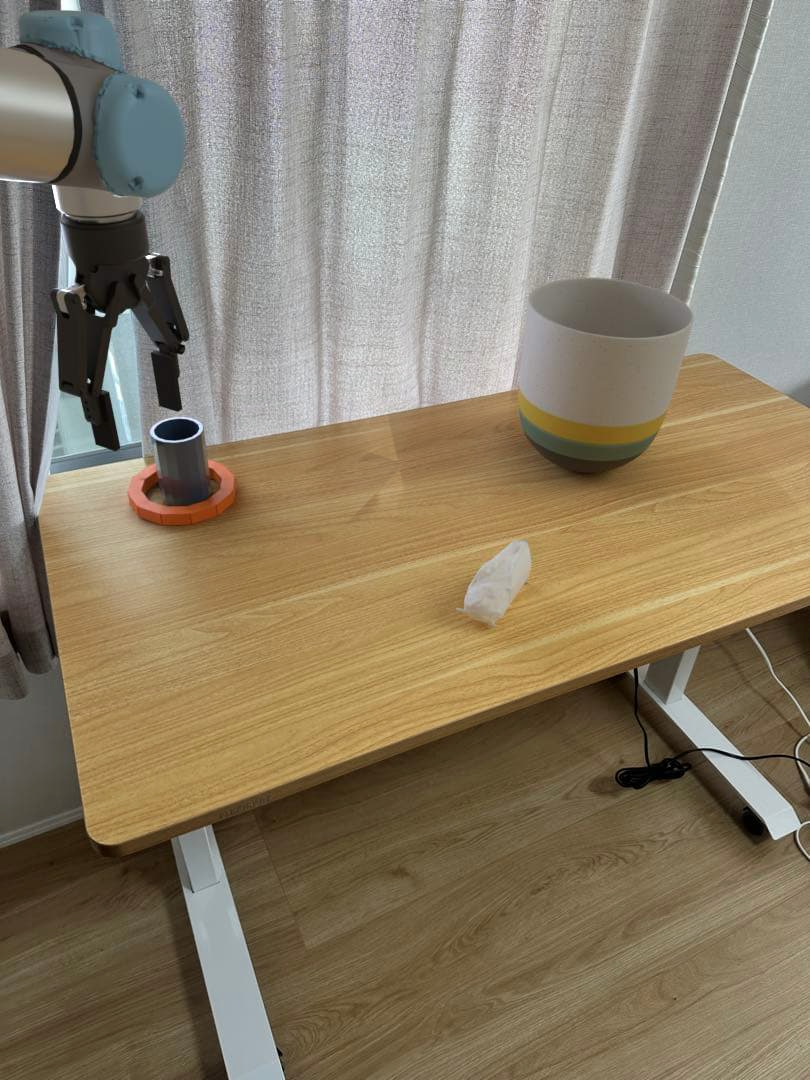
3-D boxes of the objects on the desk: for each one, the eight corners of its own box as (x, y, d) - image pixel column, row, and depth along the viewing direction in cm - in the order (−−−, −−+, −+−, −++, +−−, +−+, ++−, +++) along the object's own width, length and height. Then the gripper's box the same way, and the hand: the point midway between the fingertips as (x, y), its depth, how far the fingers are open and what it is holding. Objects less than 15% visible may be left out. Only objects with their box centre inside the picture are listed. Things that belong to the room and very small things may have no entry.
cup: (150, 498, 98) (138, 433, 92) (183, 475, 102) (173, 412, 97) (190, 513, 96) (180, 447, 90) (221, 488, 100) (213, 425, 95)
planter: (676, 495, 103) (722, 337, 90) (527, 502, 100) (553, 340, 87) (624, 421, 118) (657, 276, 105) (494, 425, 116) (511, 277, 103)
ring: (108, 507, 96) (106, 495, 95) (174, 459, 105) (173, 448, 104) (194, 536, 92) (192, 525, 91) (254, 484, 101) (254, 473, 100)
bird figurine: (481, 578, 90) (449, 614, 82) (504, 527, 87) (473, 559, 78) (521, 599, 89) (493, 637, 80) (545, 548, 86) (518, 583, 77)
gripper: (39, 250, 65) (93, 483, 79) (209, 192, 81) (230, 394, 94) (-27, 234, 67) (36, 463, 81) (150, 181, 83) (179, 379, 97)
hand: (140, 426), depth 88 cm, fingers open, 9 cm apart
